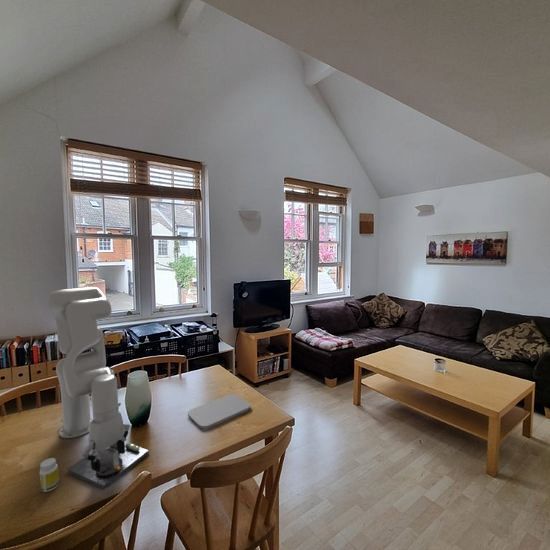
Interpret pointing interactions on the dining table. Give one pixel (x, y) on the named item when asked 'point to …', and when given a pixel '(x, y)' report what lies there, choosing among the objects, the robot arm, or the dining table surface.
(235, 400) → the tablet
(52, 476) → the supplement bottle
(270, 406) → the dining table surface
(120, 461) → the level dial
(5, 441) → the dining table surface
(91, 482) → the base plate
